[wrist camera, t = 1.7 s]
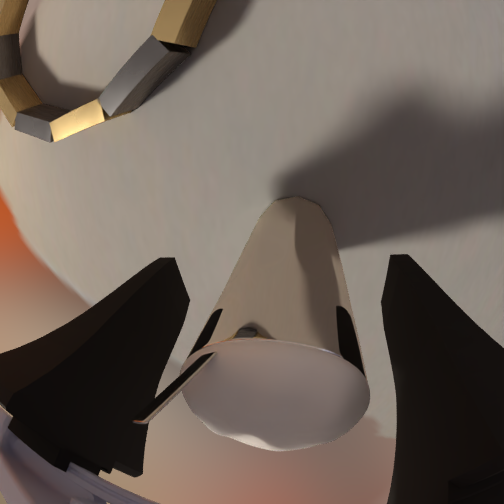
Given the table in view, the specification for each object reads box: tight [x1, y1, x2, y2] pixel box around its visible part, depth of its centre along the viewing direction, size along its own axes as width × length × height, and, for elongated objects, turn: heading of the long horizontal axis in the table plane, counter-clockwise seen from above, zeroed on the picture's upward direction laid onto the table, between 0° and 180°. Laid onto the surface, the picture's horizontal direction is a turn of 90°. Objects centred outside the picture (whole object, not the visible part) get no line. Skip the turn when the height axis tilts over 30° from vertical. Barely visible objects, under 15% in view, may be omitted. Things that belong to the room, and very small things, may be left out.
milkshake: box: [131, 196, 370, 451], centre depth 8 cm, size 4×5×10 cm
